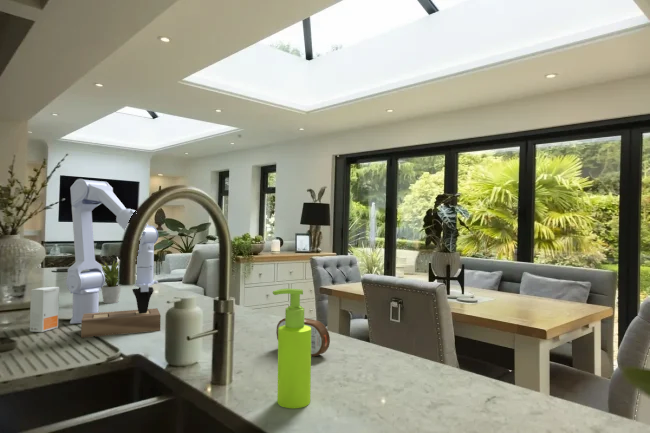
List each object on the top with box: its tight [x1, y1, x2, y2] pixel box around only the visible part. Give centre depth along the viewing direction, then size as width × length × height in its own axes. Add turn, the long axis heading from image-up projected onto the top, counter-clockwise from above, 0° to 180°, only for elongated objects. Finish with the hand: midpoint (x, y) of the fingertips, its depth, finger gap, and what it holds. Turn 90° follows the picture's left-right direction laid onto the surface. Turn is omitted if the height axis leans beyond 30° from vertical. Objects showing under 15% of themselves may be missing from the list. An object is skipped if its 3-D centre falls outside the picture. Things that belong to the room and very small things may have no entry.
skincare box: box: [29, 286, 60, 333], centre depth 127 cm, size 6×4×12 cm
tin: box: [275, 317, 331, 357], centre depth 108 cm, size 15×3×8 cm, turn 55°
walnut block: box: [80, 308, 162, 339], centre depth 128 cm, size 10×20×4 cm, turn 116°
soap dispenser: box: [272, 288, 312, 409], centre depth 79 cm, size 6×7×20 cm
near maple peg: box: [93, 314, 108, 318], centre depth 125 cm, size 4×4×4 cm
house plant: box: [98, 259, 122, 304], centre depth 170 cm, size 14×14×16 cm
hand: (142, 312), depth 130 cm, fingers closed, pressing on far maple peg
